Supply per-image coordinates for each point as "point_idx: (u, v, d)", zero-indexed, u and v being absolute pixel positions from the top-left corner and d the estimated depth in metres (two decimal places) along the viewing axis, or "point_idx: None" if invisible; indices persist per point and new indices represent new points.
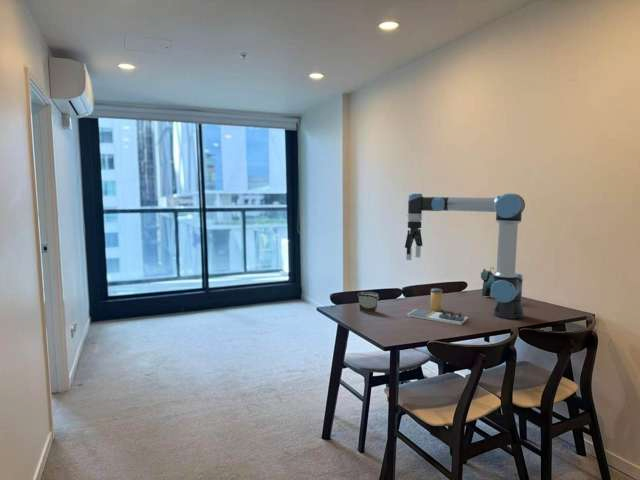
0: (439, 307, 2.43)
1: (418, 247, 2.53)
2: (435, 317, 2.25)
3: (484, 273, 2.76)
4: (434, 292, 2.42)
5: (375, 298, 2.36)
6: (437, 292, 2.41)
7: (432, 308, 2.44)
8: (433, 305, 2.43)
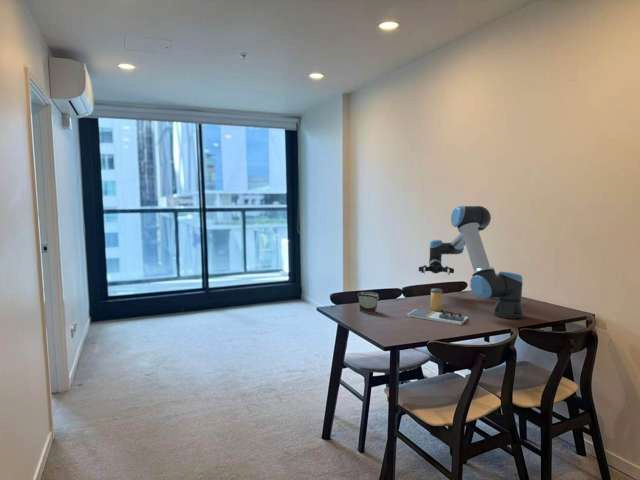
0: (439, 307, 2.43)
1: (447, 270, 2.57)
2: (435, 317, 2.25)
3: None
4: (434, 292, 2.42)
5: (375, 298, 2.36)
6: (437, 292, 2.41)
7: (432, 308, 2.44)
8: (433, 305, 2.43)
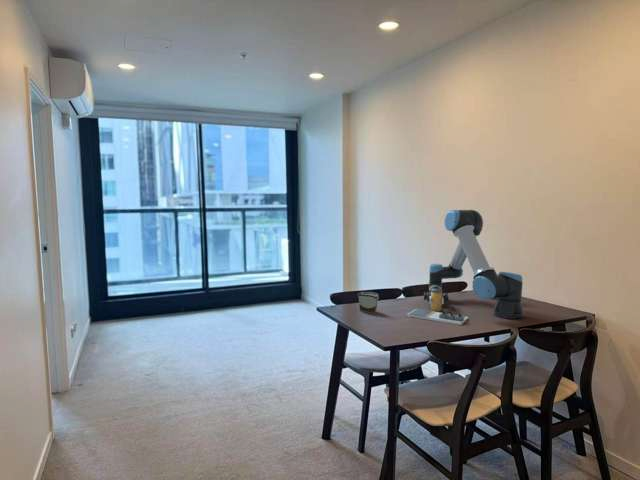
0: (439, 307, 2.43)
1: None
2: (435, 317, 2.25)
3: None
4: (434, 292, 2.42)
5: (375, 298, 2.36)
6: (437, 292, 2.41)
7: (432, 308, 2.44)
8: (433, 305, 2.43)
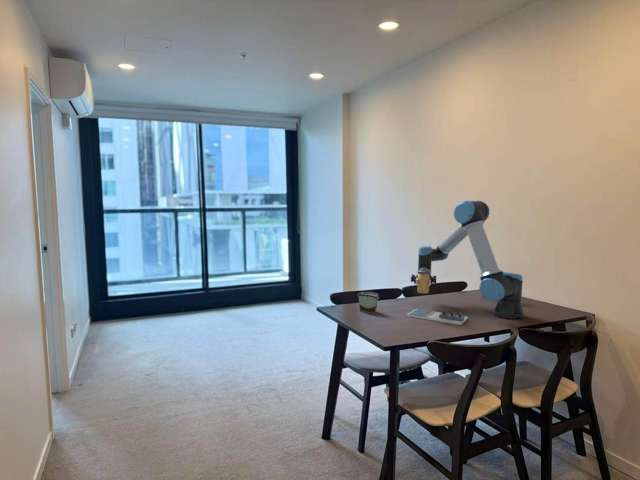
0: (426, 289, 2.32)
1: None
2: (435, 317, 2.25)
3: None
4: (421, 273, 2.32)
5: (375, 298, 2.36)
6: (424, 273, 2.31)
7: (419, 290, 2.33)
8: (420, 287, 2.33)
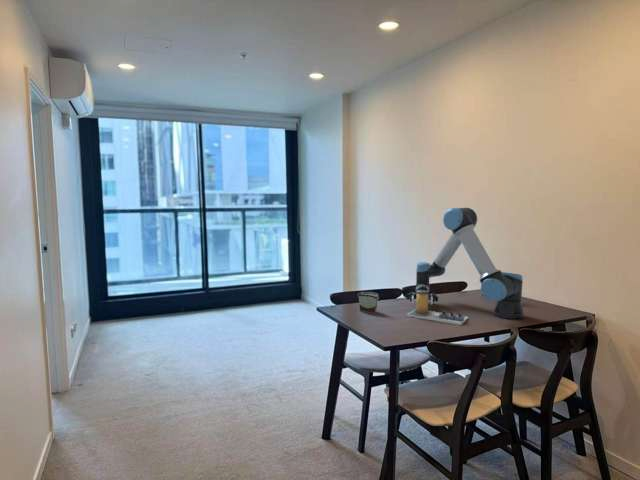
0: (425, 309, 2.31)
1: (430, 298, 2.33)
2: (435, 317, 2.25)
3: None
4: (420, 294, 2.30)
5: (375, 298, 2.36)
6: (423, 294, 2.30)
7: (418, 310, 2.32)
8: (419, 307, 2.31)
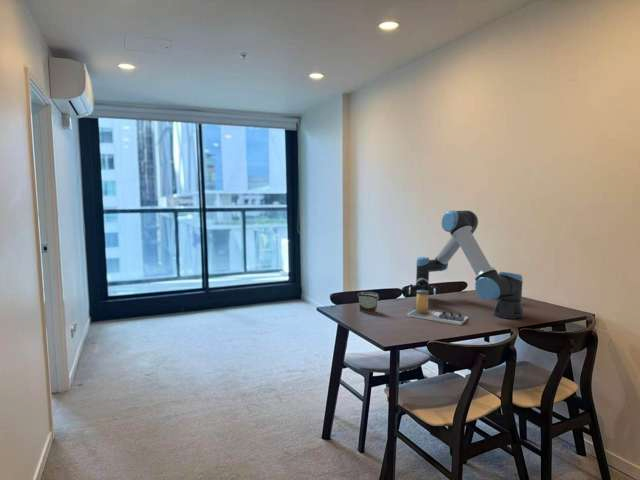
0: (425, 309, 2.31)
1: None
2: (435, 317, 2.25)
3: None
4: (420, 294, 2.30)
5: (375, 298, 2.36)
6: (423, 294, 2.30)
7: (418, 310, 2.32)
8: (419, 307, 2.32)
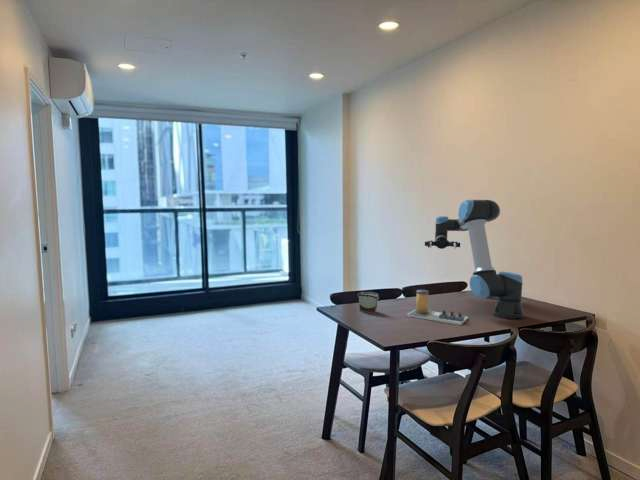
0: (425, 309, 2.31)
1: None
2: (435, 317, 2.25)
3: None
4: (420, 293, 2.31)
5: (375, 298, 2.36)
6: (423, 293, 2.30)
7: (417, 310, 2.32)
8: (418, 307, 2.32)
